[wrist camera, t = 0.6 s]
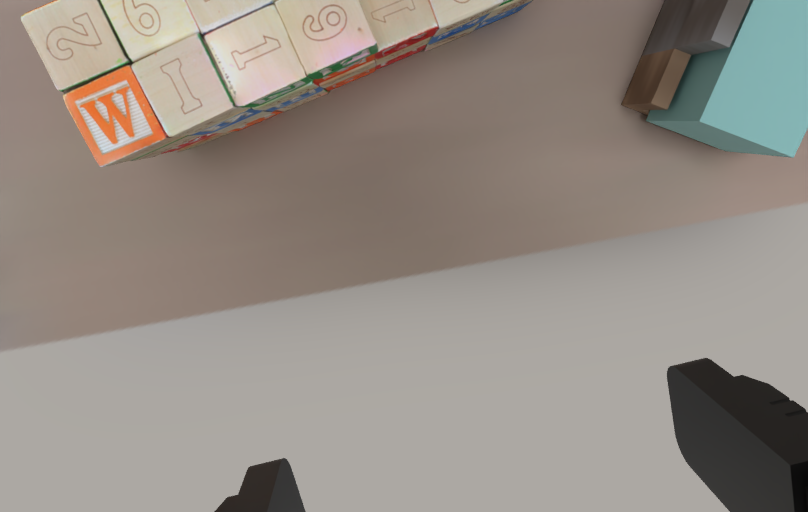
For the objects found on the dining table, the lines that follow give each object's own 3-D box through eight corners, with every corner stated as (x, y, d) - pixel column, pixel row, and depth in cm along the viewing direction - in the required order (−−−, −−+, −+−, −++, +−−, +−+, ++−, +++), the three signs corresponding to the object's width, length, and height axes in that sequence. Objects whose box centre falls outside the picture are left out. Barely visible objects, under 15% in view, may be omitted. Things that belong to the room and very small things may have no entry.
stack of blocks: (484, -99, 33) (545, -222, 21) (521, 11, 34) (598, -45, 22) (139, 50, 34) (11, 14, 22) (189, 152, 35) (94, 169, 23)
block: (696, 2, 34) (763, -22, 28) (778, 36, 34) (860, 19, 28) (645, 120, 35) (699, 121, 29) (725, 151, 36) (793, 157, 30)
